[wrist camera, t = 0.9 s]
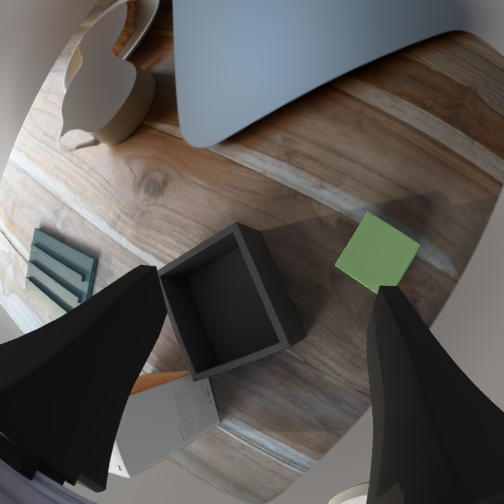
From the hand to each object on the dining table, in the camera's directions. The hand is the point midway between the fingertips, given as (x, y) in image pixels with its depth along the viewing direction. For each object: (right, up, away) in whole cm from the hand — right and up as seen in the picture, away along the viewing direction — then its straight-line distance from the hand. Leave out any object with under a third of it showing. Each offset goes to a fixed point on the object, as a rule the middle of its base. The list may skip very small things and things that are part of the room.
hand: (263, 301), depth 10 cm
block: (+10, +1, +14) cm, 17 cm away
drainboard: (-30, -3, +32) cm, 44 cm away
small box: (-7, -14, +20) cm, 26 cm away
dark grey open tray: (-2, -3, +19) cm, 19 cm away
